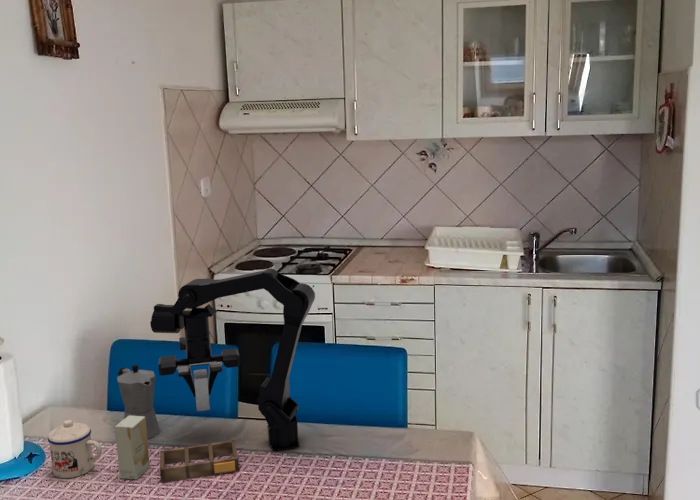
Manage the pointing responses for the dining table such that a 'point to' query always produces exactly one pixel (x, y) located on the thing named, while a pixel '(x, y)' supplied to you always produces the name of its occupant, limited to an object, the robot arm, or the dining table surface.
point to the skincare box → (132, 447)
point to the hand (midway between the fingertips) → (202, 395)
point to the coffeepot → (139, 396)
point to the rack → (201, 467)
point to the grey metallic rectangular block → (201, 390)
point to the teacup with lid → (72, 449)
